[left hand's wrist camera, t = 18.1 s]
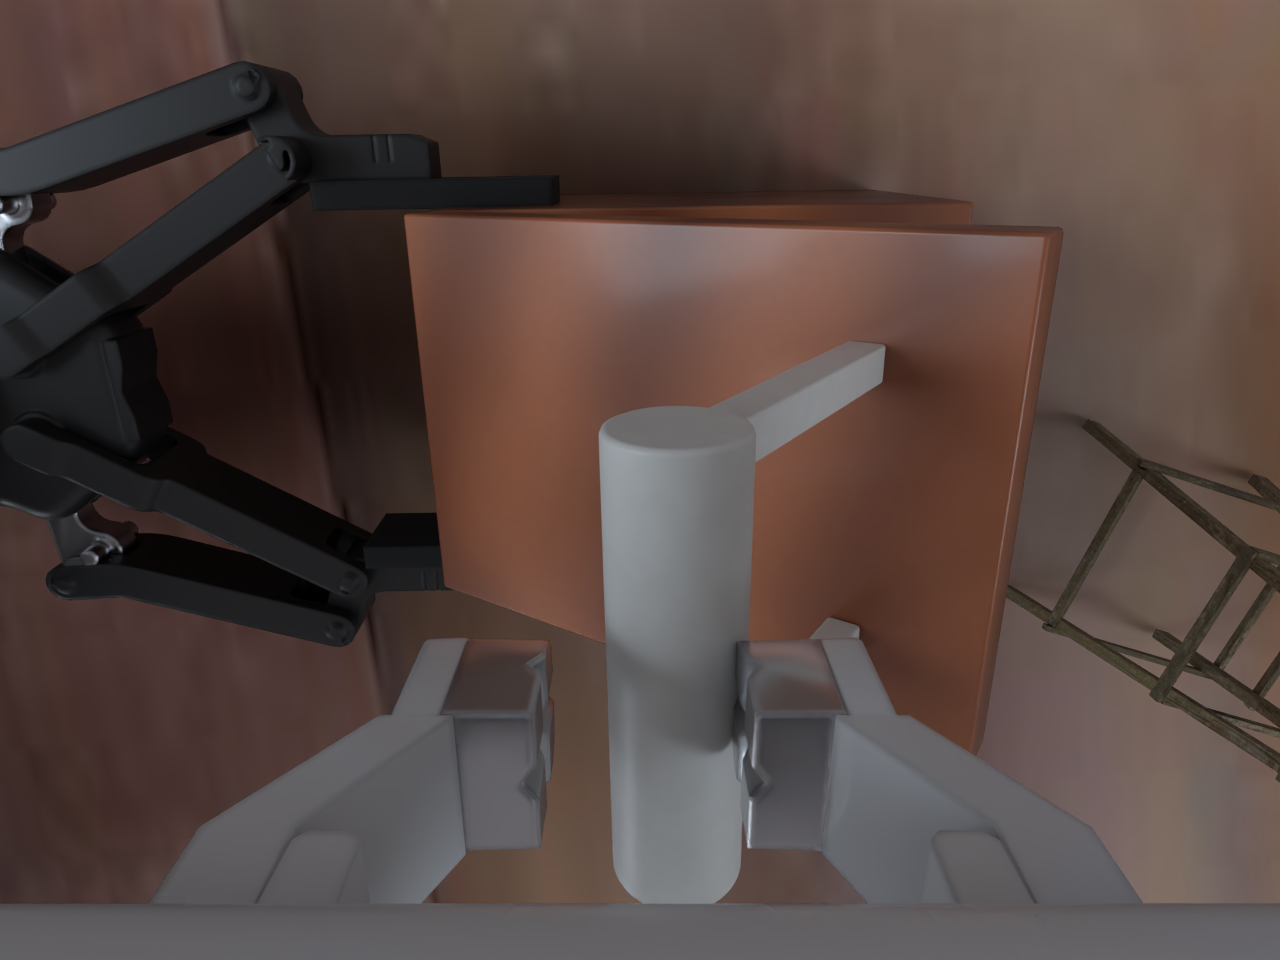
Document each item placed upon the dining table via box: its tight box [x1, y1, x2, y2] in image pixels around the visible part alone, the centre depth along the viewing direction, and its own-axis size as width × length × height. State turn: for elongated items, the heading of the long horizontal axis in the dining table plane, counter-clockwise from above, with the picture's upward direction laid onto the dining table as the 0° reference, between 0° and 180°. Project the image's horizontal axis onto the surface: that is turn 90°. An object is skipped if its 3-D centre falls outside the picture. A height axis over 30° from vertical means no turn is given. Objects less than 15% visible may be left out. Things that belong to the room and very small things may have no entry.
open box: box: [430, 190, 973, 225], centre depth 28 cm, size 14×10×10 cm
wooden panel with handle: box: [404, 211, 1063, 904], centre depth 16 cm, size 14×10×9 cm
